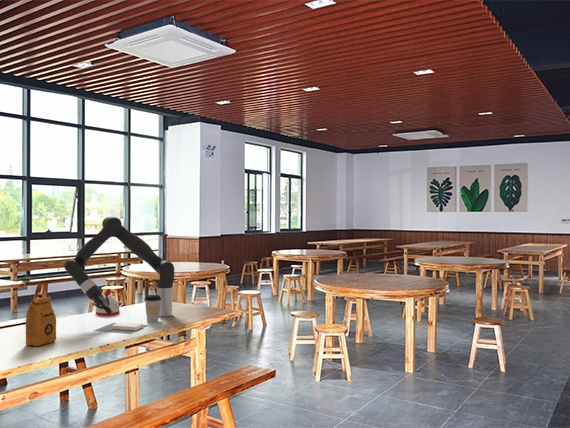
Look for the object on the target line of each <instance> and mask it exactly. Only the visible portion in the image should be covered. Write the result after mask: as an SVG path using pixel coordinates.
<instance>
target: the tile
mask: <svg viewBox="0 0 570 428" xmlns="http://www.w3.org/2000/svg"><path fill="white" fill-rule="evenodd" d="M115 323H116V324H114V325H112V329H116V330H129V331H136V330H138V331H140V330H142V329H141V328H142V327H143V325H144V324H143V323H137V322H136V323H135V322H120V321H119V322H115ZM139 329H140V330H139ZM136 332H137V331H136Z"/></svg>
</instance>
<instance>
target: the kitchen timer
mask: <svg viewBox="0 0 570 428" xmlns="http://www.w3.org/2000/svg"><path fill="white" fill-rule="evenodd" d="M111 291H112V290H111V288H107V289H106V292H105V294H104V295H103V296H104V297H105V298H106V297H108V298H109V303H110V305H109V308H110V309H111V310H112V313H111V314H108V313H107V312H106V311H105V310H104V309H100V308H98V307H96V306H95V307H96V308H95V315H96V314H97V316H100V315H101V317H106V316H115V315H119V314H120V313H121V312H120V303H119V301H118V300H117V299H116V298H115V297H114V296H113V295H112V294H111Z"/></svg>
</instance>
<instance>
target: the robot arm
mask: <svg viewBox="0 0 570 428" xmlns="http://www.w3.org/2000/svg"><path fill="white" fill-rule="evenodd" d="M101 224H102V229H101V230H100V231H99V232H98V233H97V234H96V235H95V236H93V237H92V238H90V240H88V241H87V242H86V243H84V245H83V246H82V247H81V248H80V249H79V250H78V251H77V252H76V256H75V257H74V259H68V260H66V261H65V263H64V265H63V266H64V267H63V268H64V270H65V271H66V272H67V273H68V274H69V275H70V277H71V278H72V279H73V280H74V281H75V283H76V284H77V285H78V286H79V288H80V289H81V291H82V292H83V293H84V295H85V296H86V297H87V298H88V299H89V300H90V301H93V302H92V303H91V304H92V305H93V306H95V307H98V308H100V309H104V310H105V311H106V312H107V313H108V314H111V313H112V310H111V309H110V308H109V305H110V303H109V298H108V297H106V298H105V297H104V295H103V293H102V289H101V288H100V287H99V286H98V285H97V284H96V282H95V281H94V280H93V279H92V278H91V277H90V276H89V275H88V274H87V272H85V271H84V269H83V267H85V265H86V263H87V262H88V260H89V259H90V258H91V257H92V256H93V255H94V254H95V253H96V252H97V251H98V250H99V249H100V247H102V246H103V244H105V243H106V242H107V241H108V240H109V239H110V238H111V237H115V238H116V239H118V240H119V241H120V242H121V243H122V244H123V245H124V247H126V248H127V249H128V250H129V251H130V252H132V253H133V254H134V255H135V256H136V257H138V258H139V259H141V260H142V261H143V262H145V263H147V264H148V265H149V266H150V267H151V268H152V269H153V270H154V272H156V273H157V274H158V275H159V281H157V284H156V287H157V288H156V289H157V290H156V293H157V294H156V295H159V296H160V297H161V300H160V311H159V318H160V317H164V318H165V317H171V316H172V315H173V291H174V290H173V288H174V287H173V286H174V282H175V266H174V265H175V264H173V262H171V261H167V260H165V259H163V258H161V257H160V256H159V255H157V254H156V252H155V251H154V250H153V249H152V247H151V246H150V245H149V244H148V243H147V242H146V241H145V240H143V239H142V238H140V236H138V235H136V234H135V233H133V232H131V231H129V230H128V229H127V228H126V227H124V226H123V223H122V221H121V219H120V218H119V217H116V216H106V217H105V218H103V219H102V223H101Z"/></svg>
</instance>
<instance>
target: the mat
mask: <svg viewBox="0 0 570 428" xmlns="http://www.w3.org/2000/svg"><path fill="white" fill-rule="evenodd" d="M116 323H117V322H112V323H109V324H106V325H104V326H101V327H99V328H97V329H94V330H93V332H99V333H101V332H102V333H114V334H127V335H131V334H134V333H136V332H138V331H141V330H143V329H144V328H147V327H149V324H143V327H142V328H141V329H139V330H136V331H129V330H116V329H112V325H114V324H116Z"/></svg>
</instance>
